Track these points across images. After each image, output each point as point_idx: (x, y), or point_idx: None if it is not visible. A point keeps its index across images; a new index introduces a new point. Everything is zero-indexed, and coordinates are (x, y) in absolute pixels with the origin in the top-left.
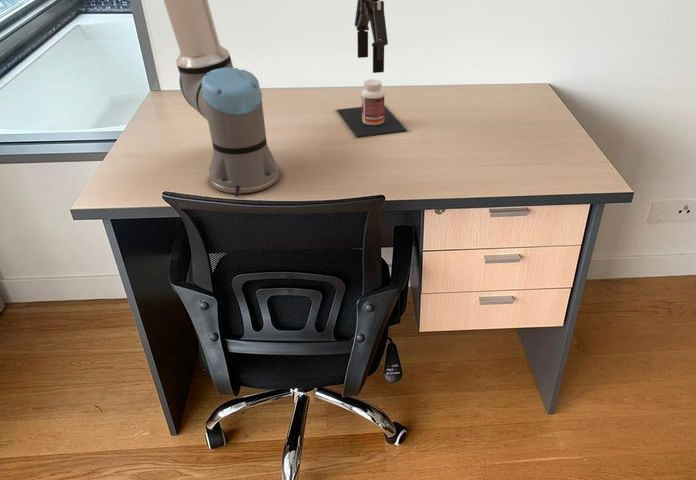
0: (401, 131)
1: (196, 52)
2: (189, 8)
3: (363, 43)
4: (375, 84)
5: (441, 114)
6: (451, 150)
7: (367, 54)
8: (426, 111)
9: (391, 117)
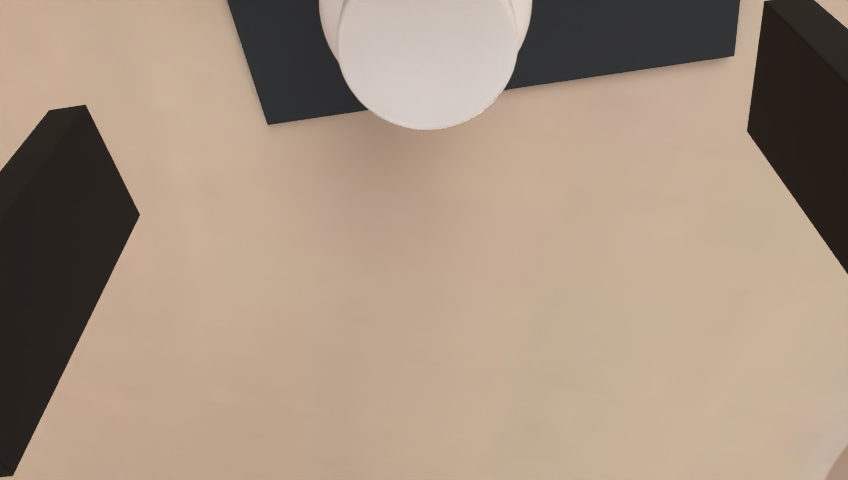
0: (258, 92)
1: None
2: None
3: (839, 178)
4: (351, 67)
5: (496, 321)
6: None
7: (759, 142)
8: (556, 268)
9: None
